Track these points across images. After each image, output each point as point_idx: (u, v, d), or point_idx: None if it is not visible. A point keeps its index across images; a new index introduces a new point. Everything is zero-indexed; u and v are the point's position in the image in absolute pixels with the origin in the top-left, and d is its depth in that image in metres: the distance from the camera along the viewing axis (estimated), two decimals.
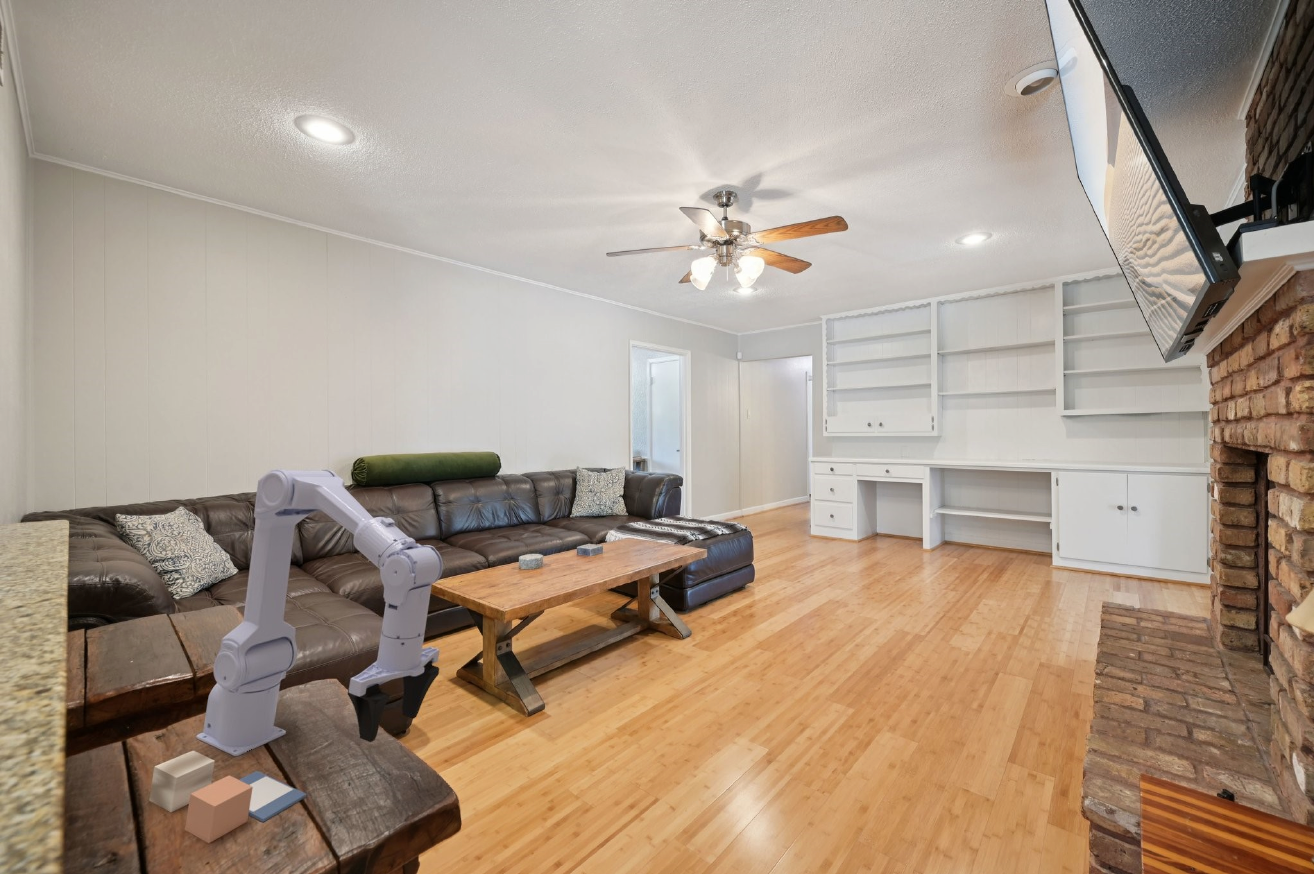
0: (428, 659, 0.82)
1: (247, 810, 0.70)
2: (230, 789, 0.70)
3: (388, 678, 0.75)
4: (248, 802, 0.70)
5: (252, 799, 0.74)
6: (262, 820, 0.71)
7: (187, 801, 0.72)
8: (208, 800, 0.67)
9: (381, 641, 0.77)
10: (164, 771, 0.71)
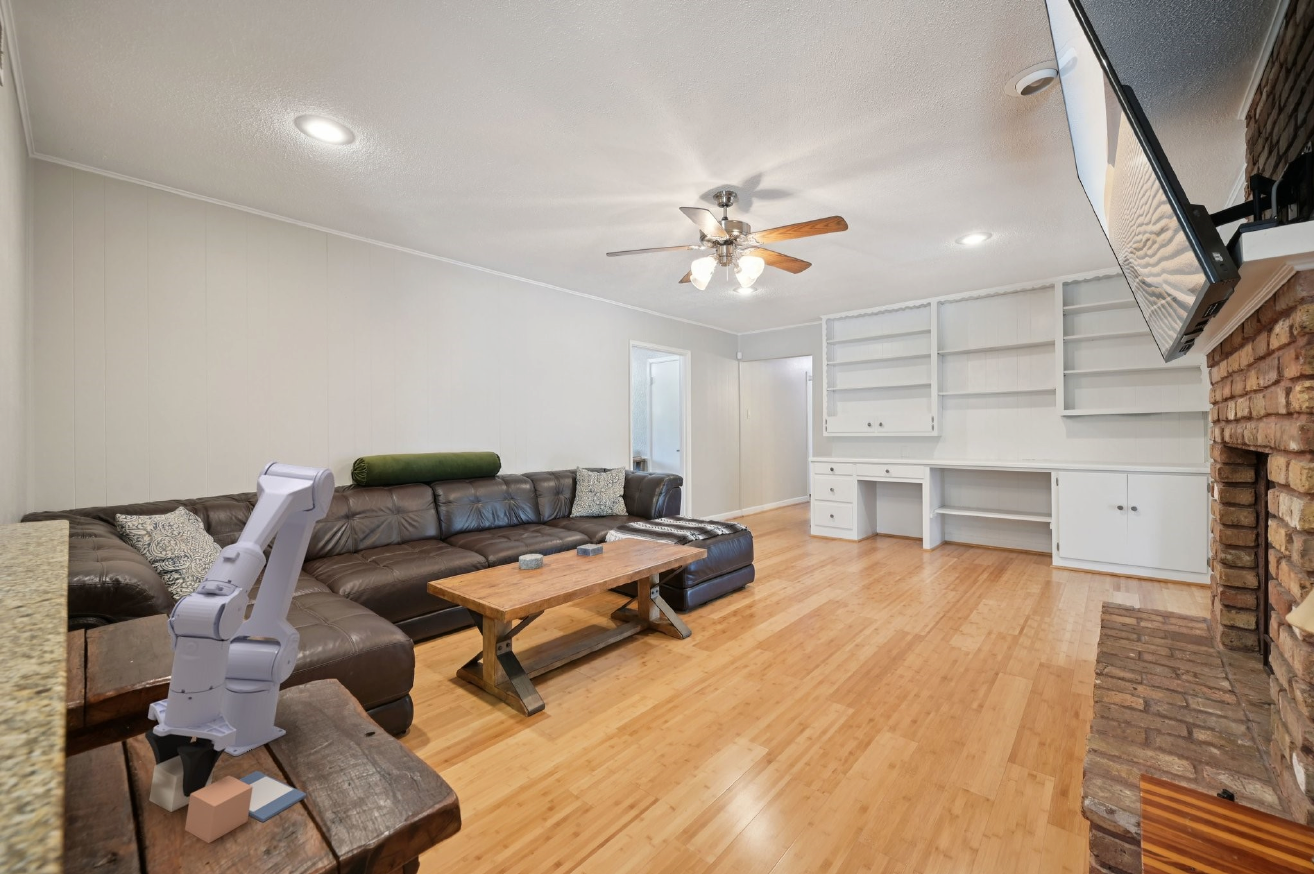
0: (196, 734, 0.70)
1: (247, 810, 0.70)
2: (230, 789, 0.70)
3: (157, 718, 0.73)
4: (248, 802, 0.70)
5: (252, 799, 0.74)
6: (262, 820, 0.71)
7: (187, 800, 0.72)
8: (207, 800, 0.67)
9: None
10: (164, 770, 0.71)
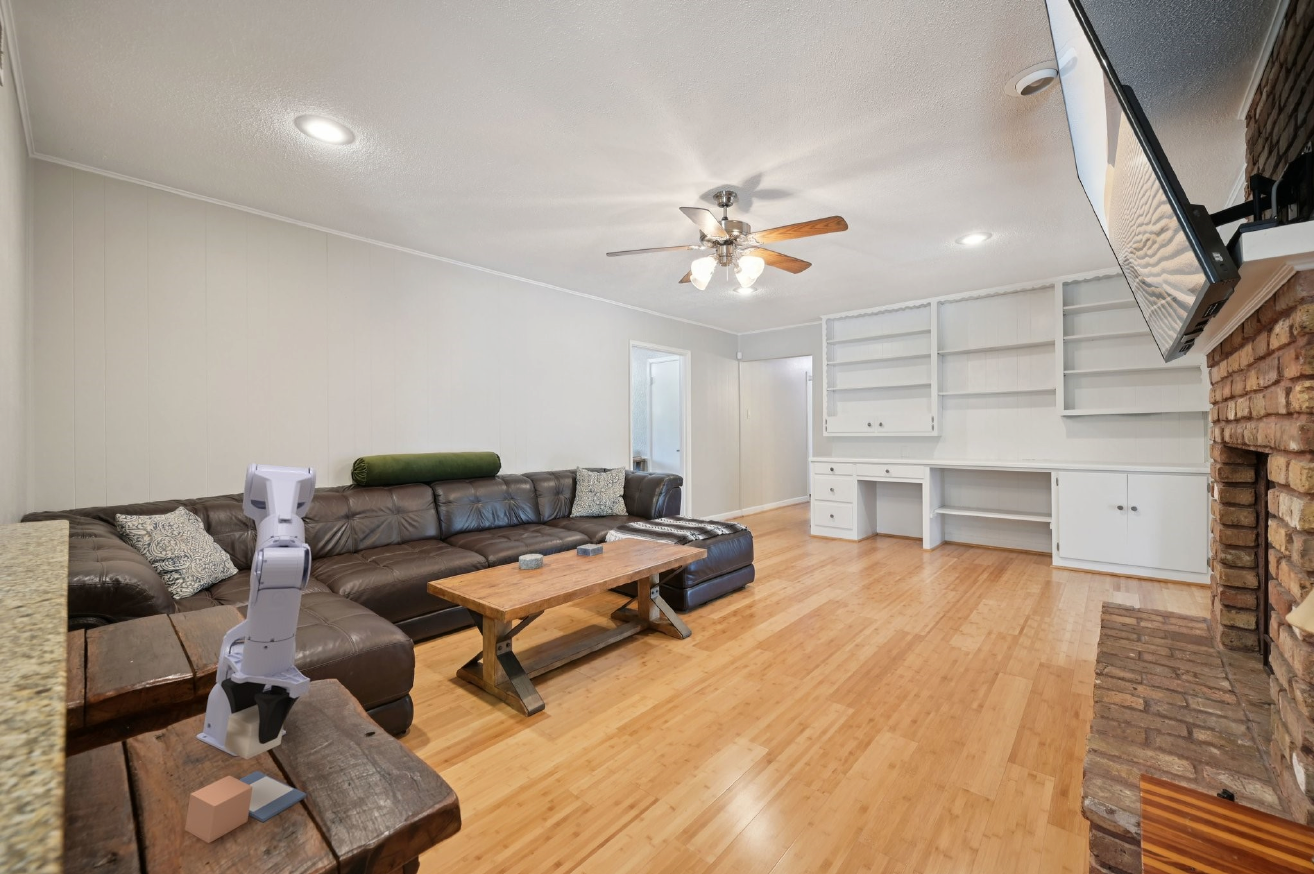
0: (272, 681, 0.72)
1: (247, 810, 0.70)
2: (230, 789, 0.70)
3: (233, 668, 0.75)
4: (248, 802, 0.70)
5: (252, 799, 0.74)
6: (262, 820, 0.71)
7: (261, 749, 0.74)
8: (207, 799, 0.67)
9: None
10: (239, 719, 0.73)
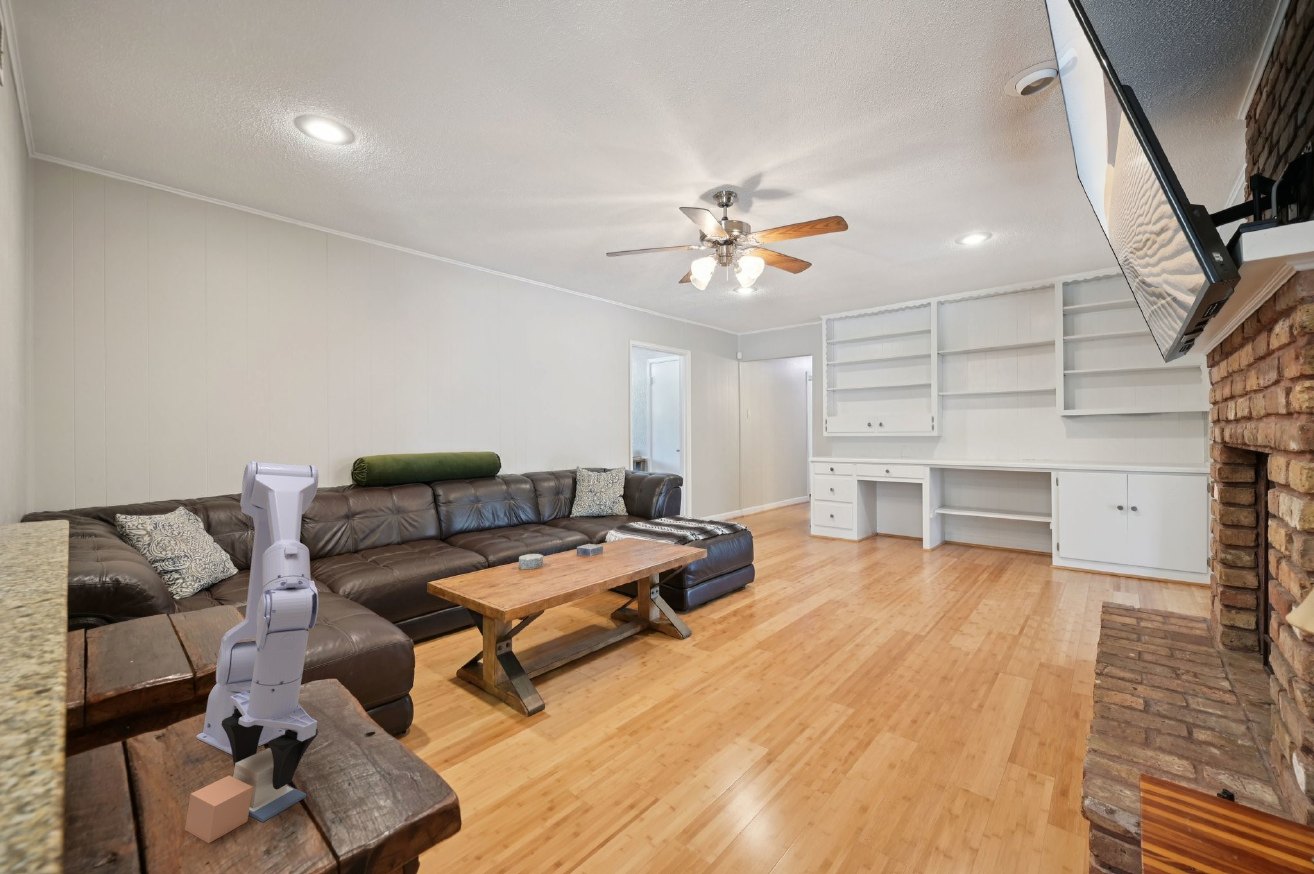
0: (280, 725, 0.73)
1: (247, 810, 0.70)
2: (230, 789, 0.70)
3: (239, 710, 0.75)
4: (248, 802, 0.70)
5: None
6: (262, 820, 0.71)
7: (267, 797, 0.74)
8: (208, 799, 0.67)
9: None
10: (245, 767, 0.73)
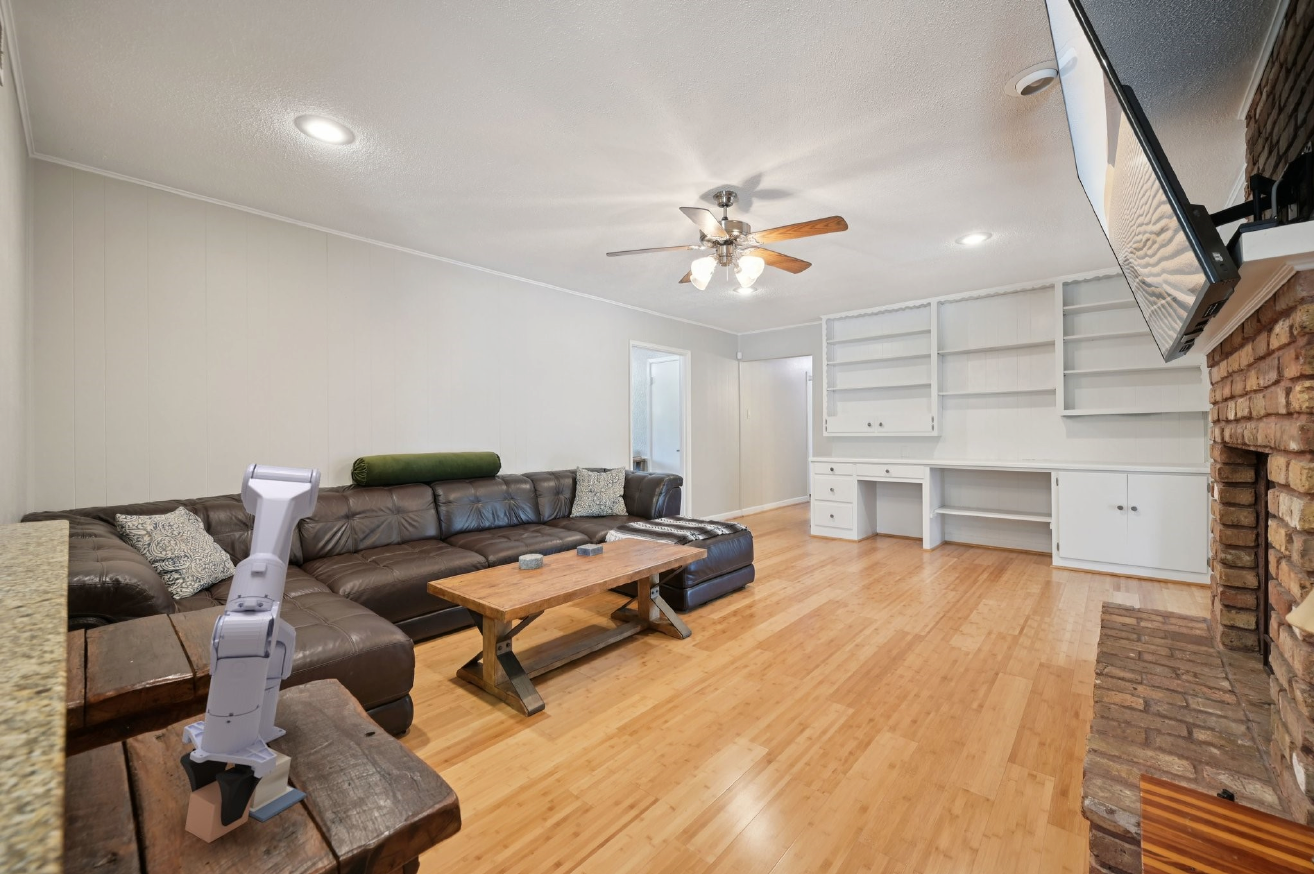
0: (236, 760, 0.67)
1: (247, 809, 0.70)
2: None
3: (193, 742, 0.69)
4: None
5: None
6: (262, 820, 0.71)
7: (267, 797, 0.74)
8: (208, 799, 0.67)
9: None
10: None
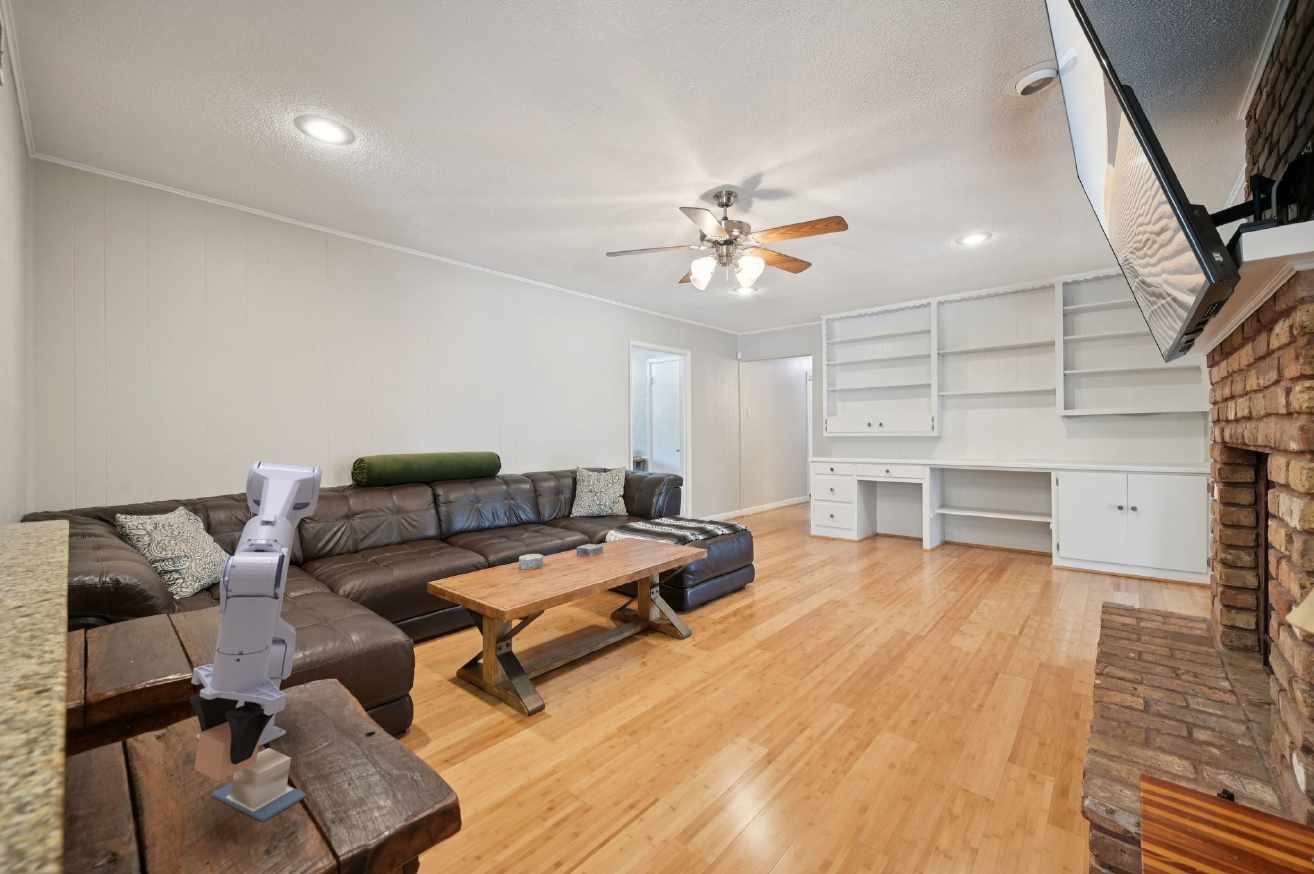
0: (245, 697, 0.67)
1: (256, 751, 0.71)
2: None
3: (202, 682, 0.69)
4: (257, 743, 0.71)
5: None
6: (262, 820, 0.71)
7: (267, 797, 0.74)
8: (217, 738, 0.68)
9: None
10: None
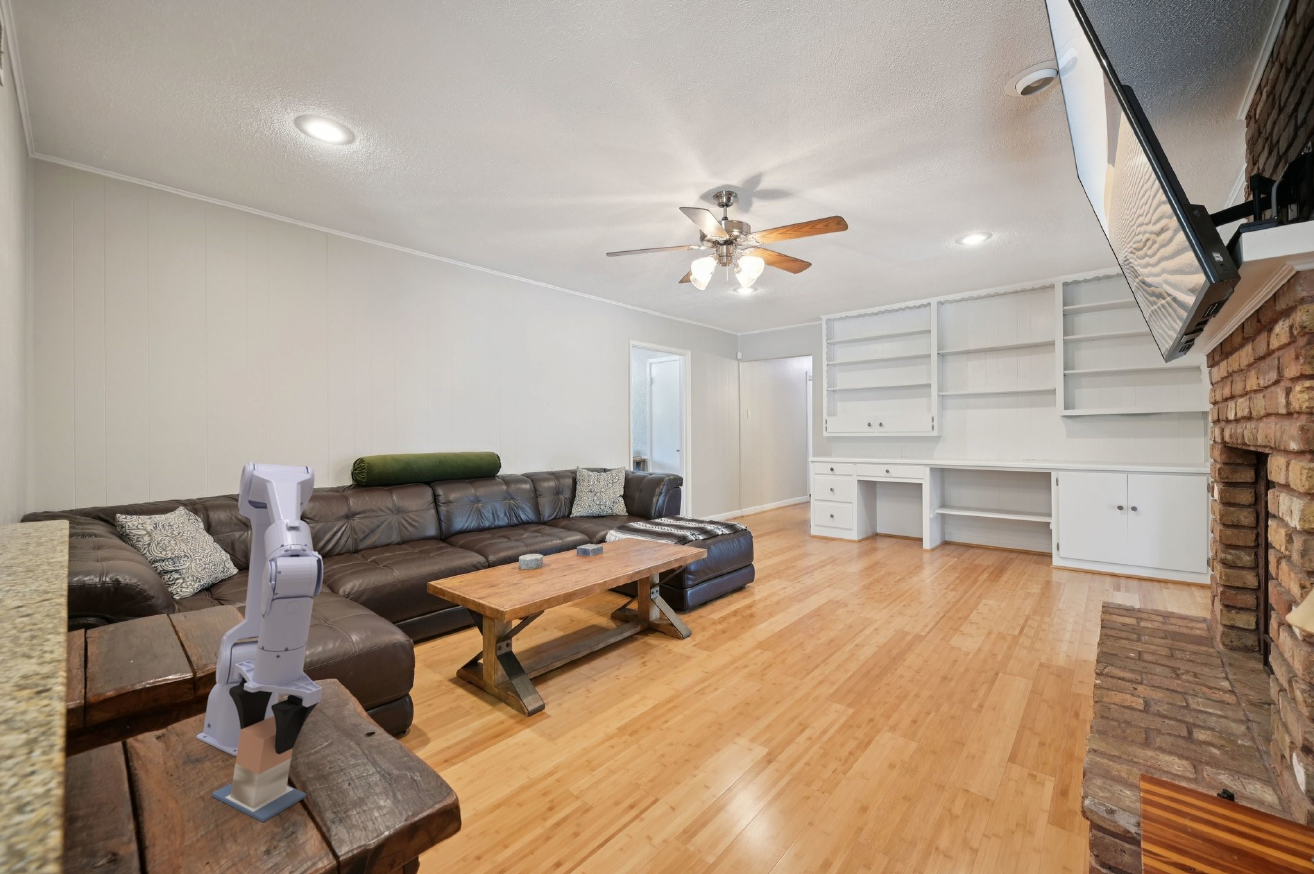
0: (285, 690, 0.73)
1: None
2: None
3: (244, 677, 0.75)
4: None
5: None
6: (262, 820, 0.71)
7: (267, 797, 0.74)
8: (257, 734, 0.73)
9: None
10: None
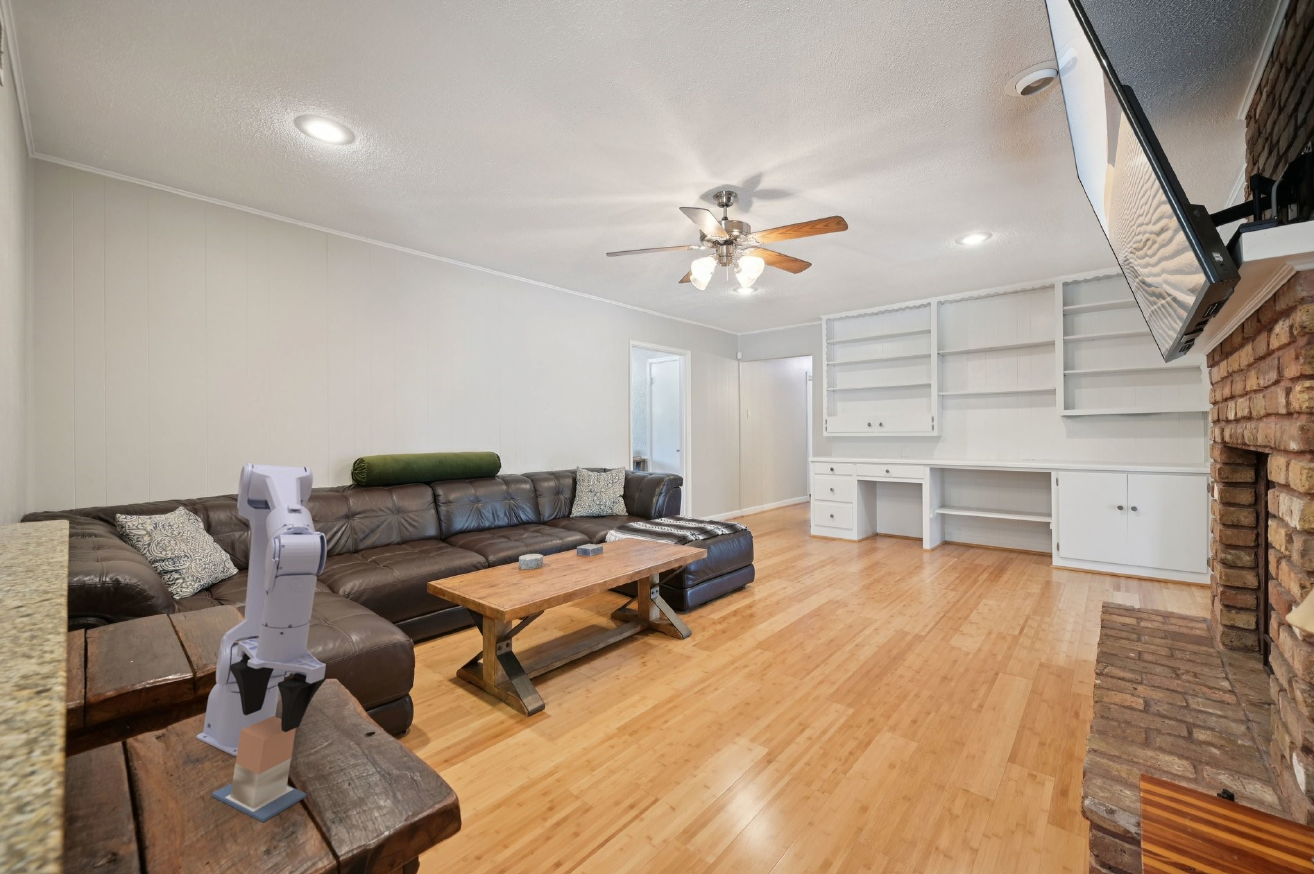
0: (289, 667, 0.73)
1: (291, 747, 0.76)
2: (276, 726, 0.76)
3: (248, 654, 0.75)
4: (292, 739, 0.76)
5: None
6: (262, 820, 0.71)
7: (267, 797, 0.74)
8: (257, 734, 0.73)
9: None
10: None
